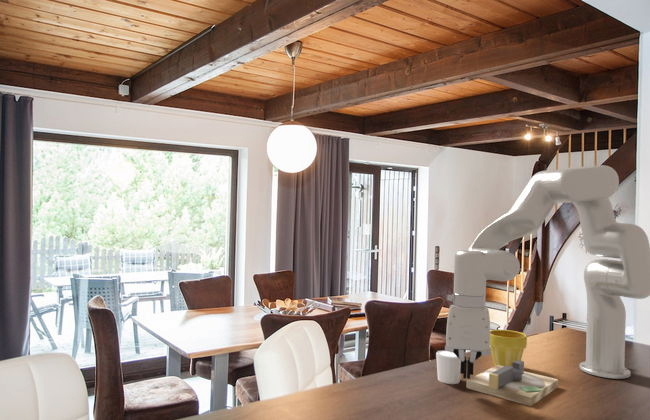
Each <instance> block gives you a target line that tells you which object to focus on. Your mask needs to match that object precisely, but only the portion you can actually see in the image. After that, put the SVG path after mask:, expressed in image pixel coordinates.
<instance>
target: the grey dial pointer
mask: <svg viewBox="0 0 650 420" xmlns="http://www.w3.org/2000/svg"><path fill="white" fill-rule="evenodd" d="M524 369H525V361H524V360H521V361H520V360H516V361H514V362H512V367H511V366H507V365H506V366H504V367H502V368H500V369H498V370H496V371H494V372H492V373H490V374H489V388H492V389H498V388H500V387H501V386H503V385H505V384H507V383H509V382H510V381H512V380H513V381H520V380H522V375H523V374H524V371H525V370H524Z"/></svg>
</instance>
